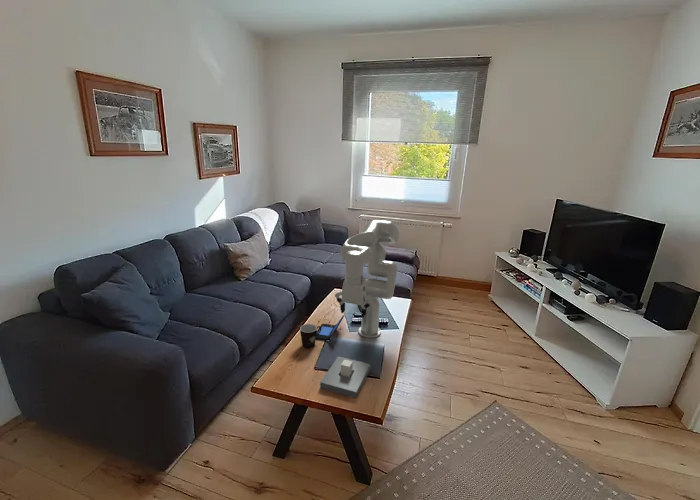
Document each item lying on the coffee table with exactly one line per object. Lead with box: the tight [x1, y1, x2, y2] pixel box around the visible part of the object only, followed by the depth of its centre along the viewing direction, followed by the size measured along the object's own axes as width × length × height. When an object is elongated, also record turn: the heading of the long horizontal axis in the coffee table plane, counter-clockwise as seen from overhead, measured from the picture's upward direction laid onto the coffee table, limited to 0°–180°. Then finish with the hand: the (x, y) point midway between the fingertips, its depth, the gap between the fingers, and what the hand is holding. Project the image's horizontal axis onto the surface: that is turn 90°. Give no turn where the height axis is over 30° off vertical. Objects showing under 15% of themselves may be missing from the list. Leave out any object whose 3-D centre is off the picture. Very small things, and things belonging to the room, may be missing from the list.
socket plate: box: [319, 356, 371, 399], centre depth 147 cm, size 20×16×3 cm
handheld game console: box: [316, 314, 345, 342], centre depth 182 cm, size 16×13×9 cm
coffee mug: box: [299, 323, 321, 350], centre depth 170 cm, size 12×9×10 cm
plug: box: [341, 359, 353, 378], centre depth 146 cm, size 4×4×8 cm
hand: (353, 313), depth 150 cm, fingers open, 9 cm apart
